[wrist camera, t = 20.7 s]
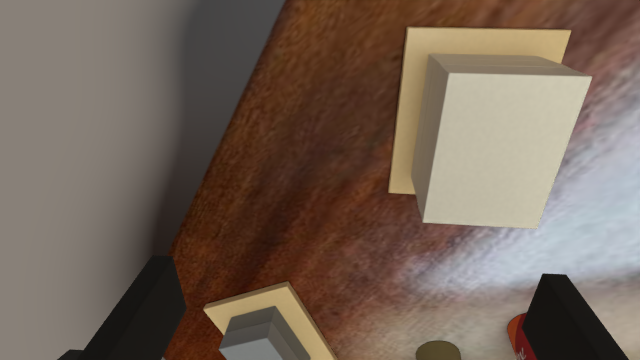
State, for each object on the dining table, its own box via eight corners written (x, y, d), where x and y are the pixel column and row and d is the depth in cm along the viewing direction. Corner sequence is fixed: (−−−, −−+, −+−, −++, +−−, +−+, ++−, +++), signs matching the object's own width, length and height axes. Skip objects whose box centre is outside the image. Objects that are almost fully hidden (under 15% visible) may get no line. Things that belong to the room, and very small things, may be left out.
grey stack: (205, 304, 49) (187, 341, 44) (288, 280, 46) (279, 318, 40) (261, 373, 56) (251, 413, 50) (337, 357, 52) (335, 399, 47)
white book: (439, 64, 26) (448, 72, 23) (568, 67, 25) (593, 76, 23) (417, 203, 32) (422, 222, 29) (521, 209, 31) (537, 229, 28)
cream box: (406, 26, 30) (416, 34, 25) (565, 28, 29) (611, 37, 24) (387, 188, 38) (392, 220, 33) (513, 194, 37) (539, 229, 32)
